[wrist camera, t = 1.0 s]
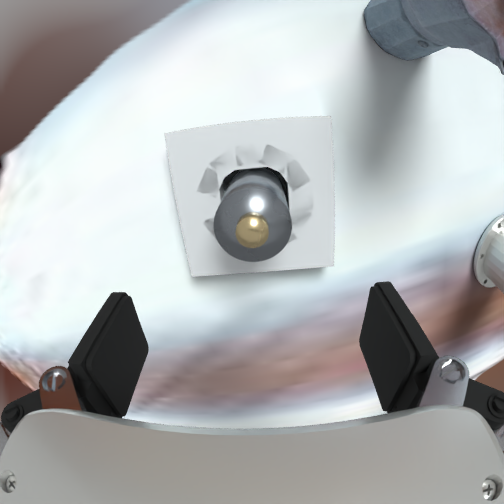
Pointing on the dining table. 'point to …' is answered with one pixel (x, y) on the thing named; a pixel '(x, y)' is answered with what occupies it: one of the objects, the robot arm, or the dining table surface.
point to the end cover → (253, 216)
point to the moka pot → (438, 27)
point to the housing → (255, 156)
